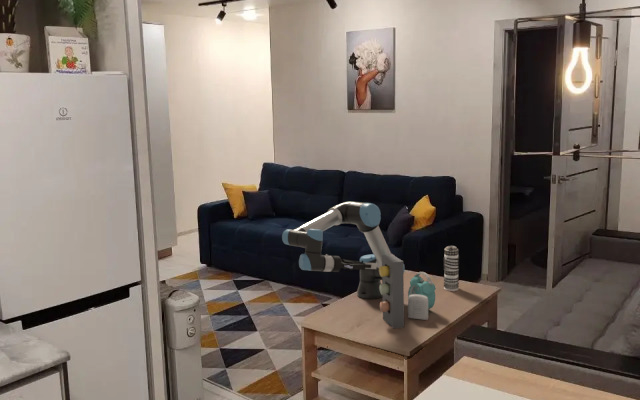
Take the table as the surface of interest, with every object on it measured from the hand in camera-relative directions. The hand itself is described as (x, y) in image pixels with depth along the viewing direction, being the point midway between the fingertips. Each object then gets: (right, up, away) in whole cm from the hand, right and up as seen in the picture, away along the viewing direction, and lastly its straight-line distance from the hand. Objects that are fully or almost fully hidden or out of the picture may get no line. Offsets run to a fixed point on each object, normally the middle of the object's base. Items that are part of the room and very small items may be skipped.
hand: (376, 266), depth 292 cm
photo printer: (+22, -28, +11) cm, 38 cm away
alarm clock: (+26, -26, +24) cm, 44 cm away
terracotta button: (+5, -23, +4) cm, 24 cm away
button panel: (+10, -29, +6) cm, 31 cm away
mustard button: (+4, -5, +1) cm, 7 cm away
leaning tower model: (+49, -20, +56) cm, 77 cm away
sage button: (+5, -14, +2) cm, 15 cm away
